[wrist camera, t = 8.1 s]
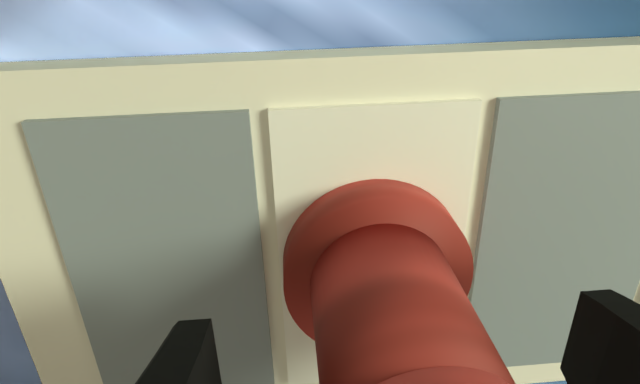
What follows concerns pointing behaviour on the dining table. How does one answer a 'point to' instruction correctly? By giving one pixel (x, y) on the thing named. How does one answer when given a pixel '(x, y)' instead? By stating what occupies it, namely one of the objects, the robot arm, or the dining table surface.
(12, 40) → the dining table surface
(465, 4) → the dining table surface
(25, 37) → the dining table surface
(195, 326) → the robot arm
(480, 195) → the board
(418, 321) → the pawn
